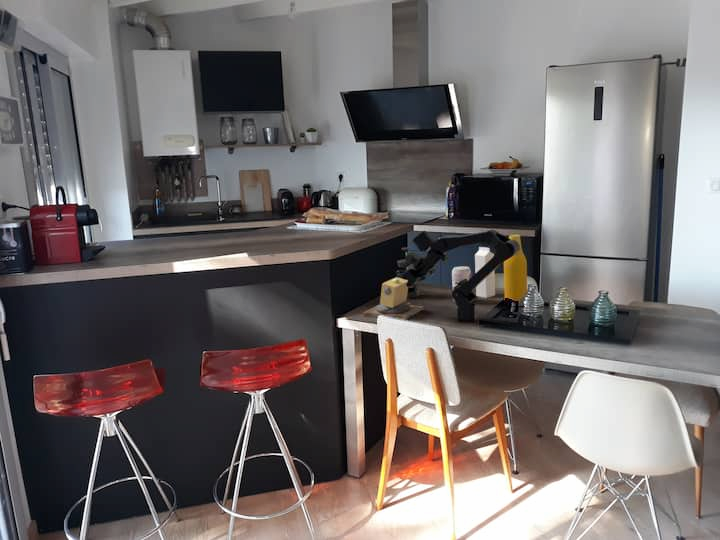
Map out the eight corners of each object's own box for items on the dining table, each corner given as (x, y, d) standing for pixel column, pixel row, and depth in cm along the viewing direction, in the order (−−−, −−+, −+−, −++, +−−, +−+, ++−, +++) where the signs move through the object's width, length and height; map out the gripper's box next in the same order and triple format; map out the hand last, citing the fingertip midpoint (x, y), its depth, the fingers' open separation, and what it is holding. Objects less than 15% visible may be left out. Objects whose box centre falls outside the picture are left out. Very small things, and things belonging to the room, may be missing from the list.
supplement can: (472, 298, 252) (470, 265, 249) (472, 303, 244) (471, 269, 241) (453, 299, 253) (451, 266, 250) (453, 304, 245) (451, 270, 243)
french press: (424, 295, 263) (421, 246, 259) (410, 300, 257) (407, 250, 253) (405, 292, 272) (402, 245, 268) (391, 297, 266) (388, 248, 261)
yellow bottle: (516, 308, 232) (515, 238, 226) (500, 304, 239) (498, 236, 234) (532, 304, 236) (531, 234, 231) (515, 300, 244) (513, 233, 238)
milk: (486, 298, 251) (484, 249, 247) (476, 296, 256) (474, 247, 252) (495, 295, 255) (494, 246, 250) (485, 293, 260) (483, 245, 255)
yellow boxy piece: (406, 300, 242) (409, 278, 239) (391, 308, 231) (394, 285, 228) (394, 296, 245) (397, 274, 242) (379, 304, 234) (381, 281, 231)
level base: (423, 309, 240) (423, 300, 239) (405, 320, 227) (405, 310, 226) (382, 306, 251) (382, 297, 250) (363, 315, 238) (362, 306, 237)
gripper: (427, 242, 234) (404, 267, 242) (405, 249, 219) (382, 276, 227) (445, 261, 232) (422, 286, 240) (425, 270, 216) (401, 296, 224)
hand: (407, 285), depth 233 cm, fingers closed
